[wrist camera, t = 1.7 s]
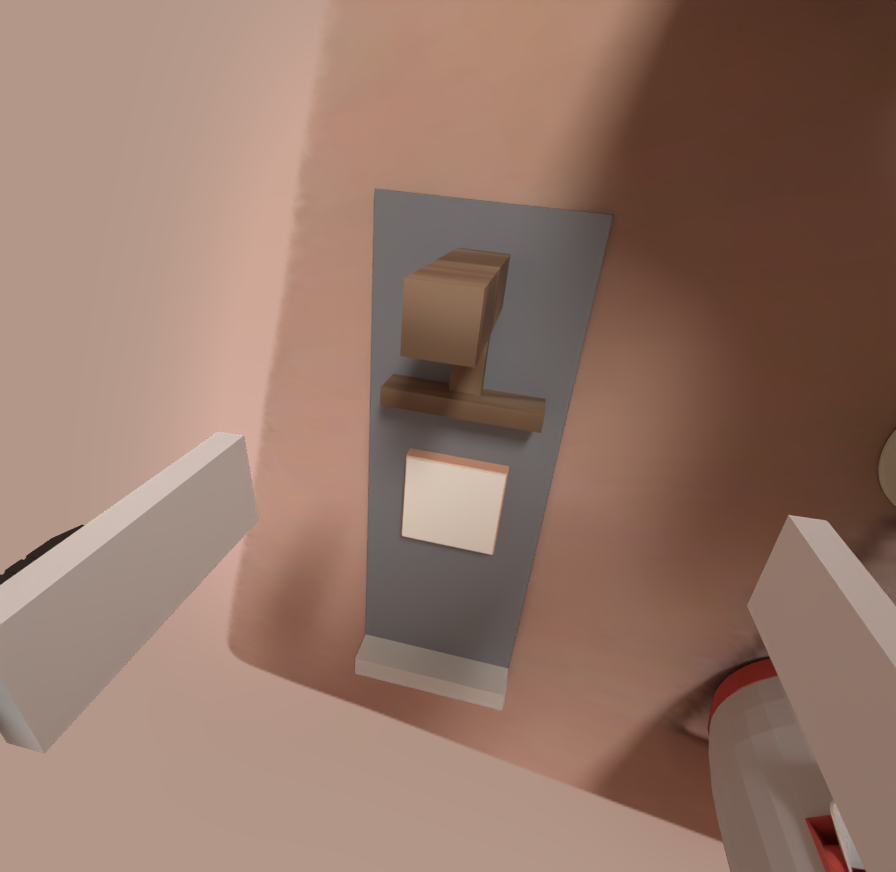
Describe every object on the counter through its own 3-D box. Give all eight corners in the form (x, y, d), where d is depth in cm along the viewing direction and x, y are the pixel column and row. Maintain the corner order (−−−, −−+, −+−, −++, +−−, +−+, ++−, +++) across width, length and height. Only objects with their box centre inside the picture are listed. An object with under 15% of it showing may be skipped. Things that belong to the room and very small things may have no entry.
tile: (410, 448, 34) (405, 456, 33) (509, 466, 33) (507, 475, 32) (405, 527, 37) (400, 536, 36) (495, 545, 36) (493, 556, 35)
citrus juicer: (910, 598, 32) (1338, 1092, 14) (917, 762, 38) (1225, 1249, 20) (660, 627, 37) (753, 1016, 20) (702, 767, 43) (801, 1158, 26)
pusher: (398, 240, 28) (314, 265, 18) (573, 262, 26) (583, 302, 17) (392, 390, 32) (321, 475, 23) (542, 416, 31) (535, 517, 21)
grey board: (376, 189, 27) (357, 188, 25) (612, 214, 25) (618, 217, 23) (366, 645, 45) (354, 673, 42) (505, 679, 43) (502, 710, 41)
